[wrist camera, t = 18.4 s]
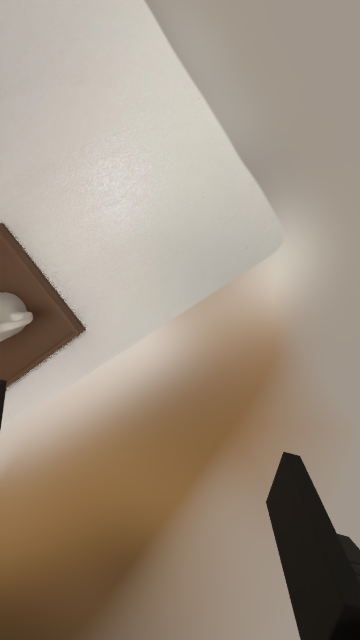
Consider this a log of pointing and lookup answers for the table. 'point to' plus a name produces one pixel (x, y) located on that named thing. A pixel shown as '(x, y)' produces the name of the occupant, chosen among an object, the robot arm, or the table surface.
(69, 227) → the table surface
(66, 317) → the tray
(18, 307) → the mug
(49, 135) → the table surface
